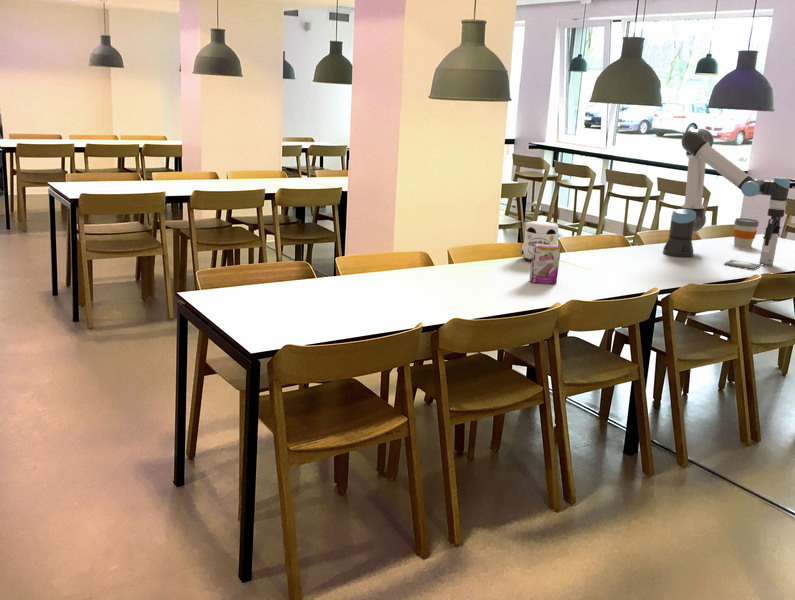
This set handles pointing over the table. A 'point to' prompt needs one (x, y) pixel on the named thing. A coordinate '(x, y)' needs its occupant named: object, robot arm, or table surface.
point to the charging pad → (741, 264)
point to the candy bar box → (544, 264)
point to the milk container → (538, 236)
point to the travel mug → (770, 249)
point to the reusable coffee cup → (744, 231)
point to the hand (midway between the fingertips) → (768, 250)
